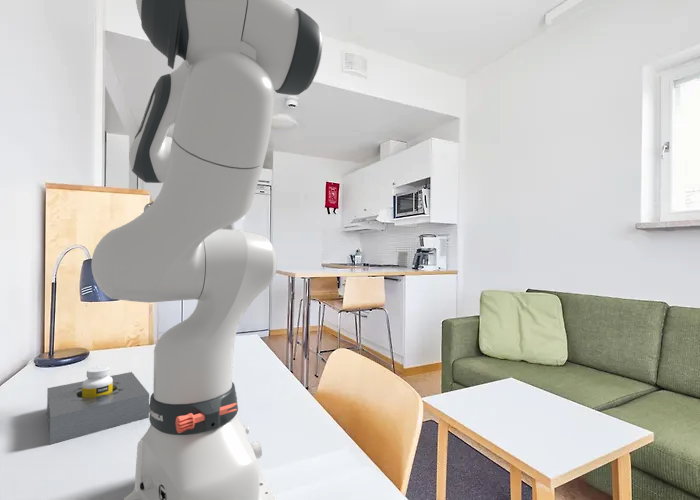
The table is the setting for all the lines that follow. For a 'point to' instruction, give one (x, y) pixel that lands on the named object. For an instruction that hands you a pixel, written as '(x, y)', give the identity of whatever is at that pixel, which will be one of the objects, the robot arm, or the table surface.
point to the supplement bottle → (97, 382)
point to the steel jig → (94, 408)
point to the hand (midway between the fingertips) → (192, 262)
